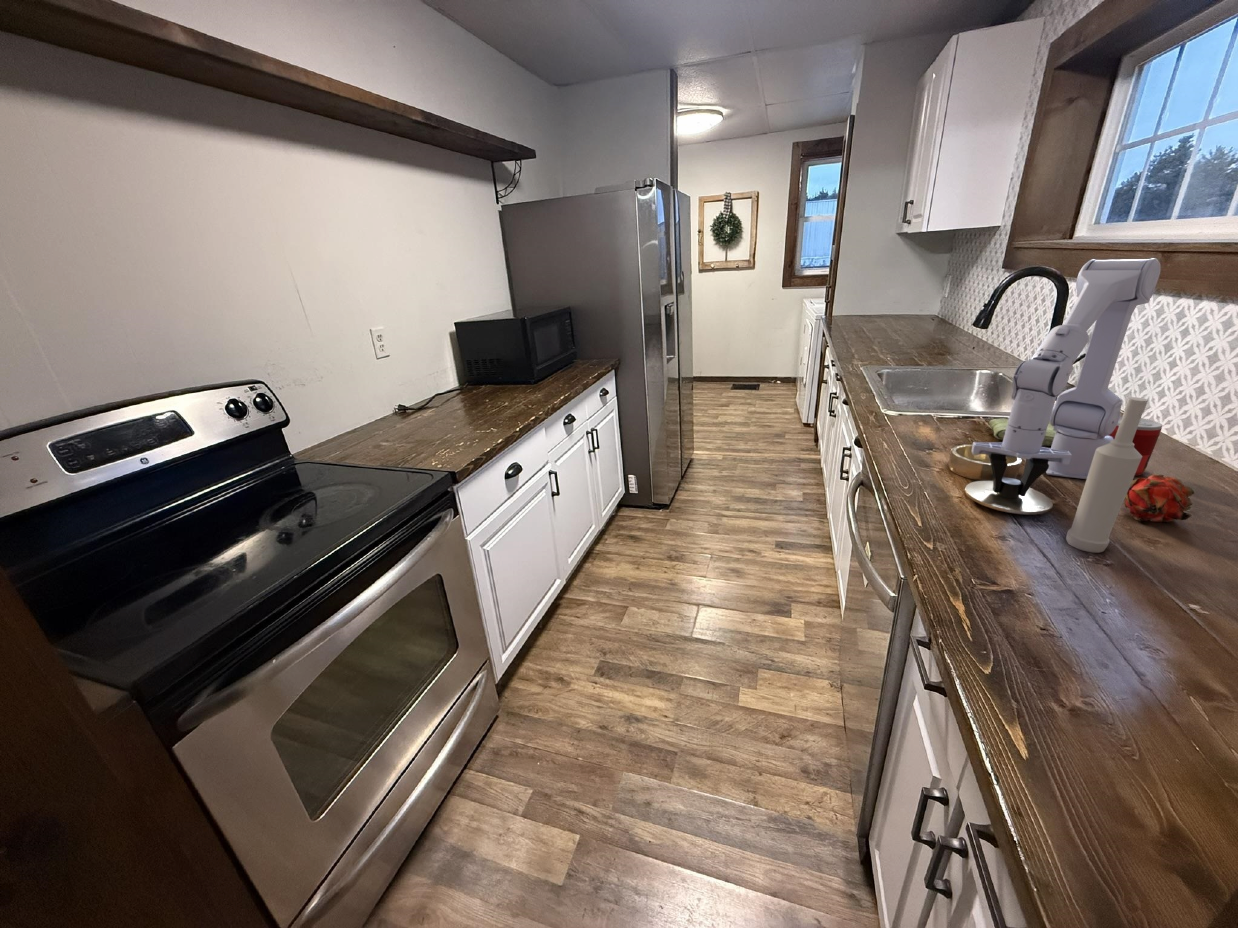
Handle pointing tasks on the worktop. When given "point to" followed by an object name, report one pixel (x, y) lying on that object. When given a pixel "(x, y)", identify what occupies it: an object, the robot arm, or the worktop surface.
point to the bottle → (1107, 484)
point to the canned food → (1143, 440)
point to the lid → (1008, 497)
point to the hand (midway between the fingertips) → (1008, 492)
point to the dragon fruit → (1158, 499)
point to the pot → (979, 464)
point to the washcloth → (1001, 425)
